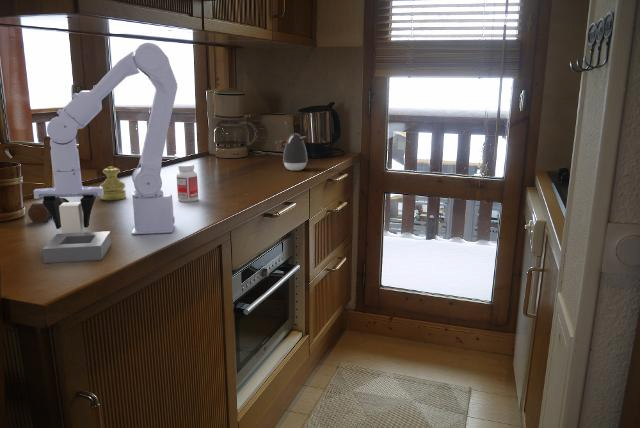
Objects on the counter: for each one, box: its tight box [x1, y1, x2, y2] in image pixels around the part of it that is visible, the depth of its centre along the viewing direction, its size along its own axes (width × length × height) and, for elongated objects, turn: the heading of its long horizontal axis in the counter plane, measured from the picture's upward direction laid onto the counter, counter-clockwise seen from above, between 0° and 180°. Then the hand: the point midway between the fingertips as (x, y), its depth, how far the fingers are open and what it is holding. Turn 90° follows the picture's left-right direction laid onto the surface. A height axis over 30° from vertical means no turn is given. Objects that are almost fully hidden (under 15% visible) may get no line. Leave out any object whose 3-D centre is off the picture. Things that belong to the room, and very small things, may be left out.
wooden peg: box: [59, 201, 86, 234], centre depth 124 cm, size 4×4×8 cm
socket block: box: [42, 230, 112, 264], centre depth 113 cm, size 11×11×3 cm
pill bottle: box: [176, 163, 199, 203], centre depth 162 cm, size 6×6×11 cm
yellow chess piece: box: [99, 165, 127, 202], centre depth 165 cm, size 7×7×10 cm
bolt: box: [27, 197, 70, 224], centre depth 144 cm, size 6×5×15 cm
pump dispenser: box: [282, 132, 308, 172], centre depth 220 cm, size 10×10×15 cm
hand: (73, 227), depth 124 cm, fingers open, 5 cm apart
